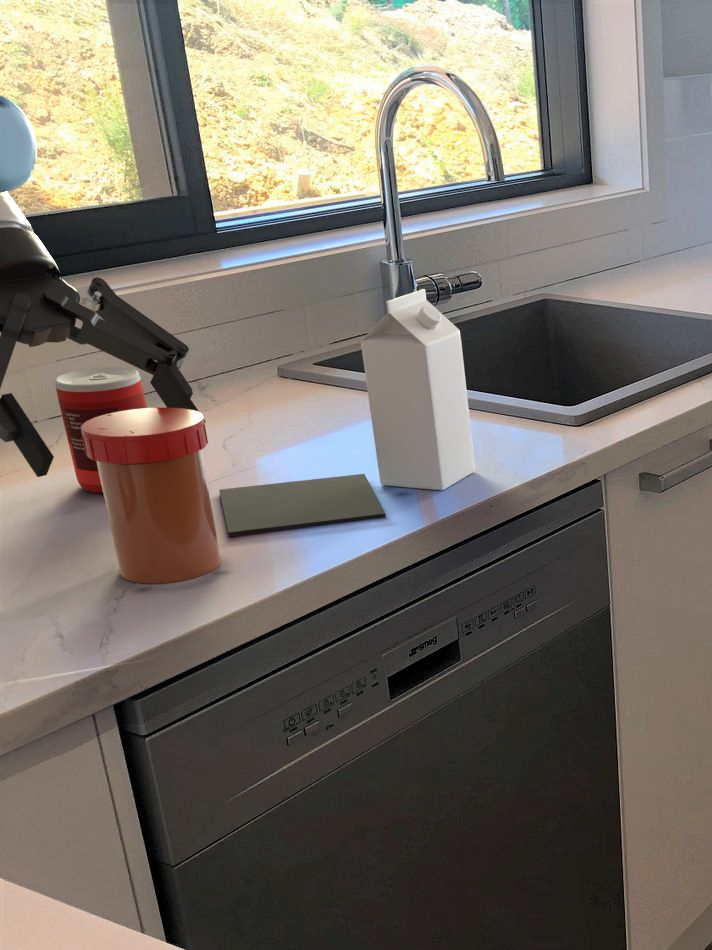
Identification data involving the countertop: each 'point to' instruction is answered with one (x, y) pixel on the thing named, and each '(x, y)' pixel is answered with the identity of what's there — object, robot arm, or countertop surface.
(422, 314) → the milk carton
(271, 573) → the countertop surface
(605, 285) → the countertop surface
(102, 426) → the jar lid
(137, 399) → the canned food
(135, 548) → the jar
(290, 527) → the mat
